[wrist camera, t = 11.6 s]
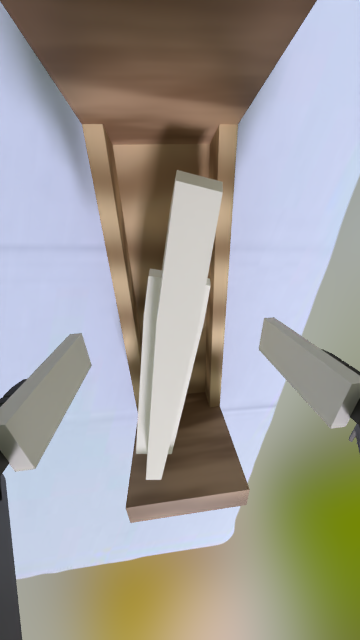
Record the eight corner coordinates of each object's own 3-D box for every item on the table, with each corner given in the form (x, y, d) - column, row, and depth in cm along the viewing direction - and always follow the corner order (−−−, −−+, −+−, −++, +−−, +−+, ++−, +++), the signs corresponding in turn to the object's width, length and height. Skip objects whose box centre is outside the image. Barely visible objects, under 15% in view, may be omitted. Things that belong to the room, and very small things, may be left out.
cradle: (92, 107, 16) (-199, -466, 3) (223, 108, 17) (425, -336, 4) (143, 406, 31) (130, 522, 18) (211, 398, 31) (246, 504, 19)
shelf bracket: (137, 394, 28) (122, 480, 16) (158, 224, 23) (160, 160, 11) (171, 396, 29) (183, 479, 16) (198, 233, 24) (240, 181, 12)
